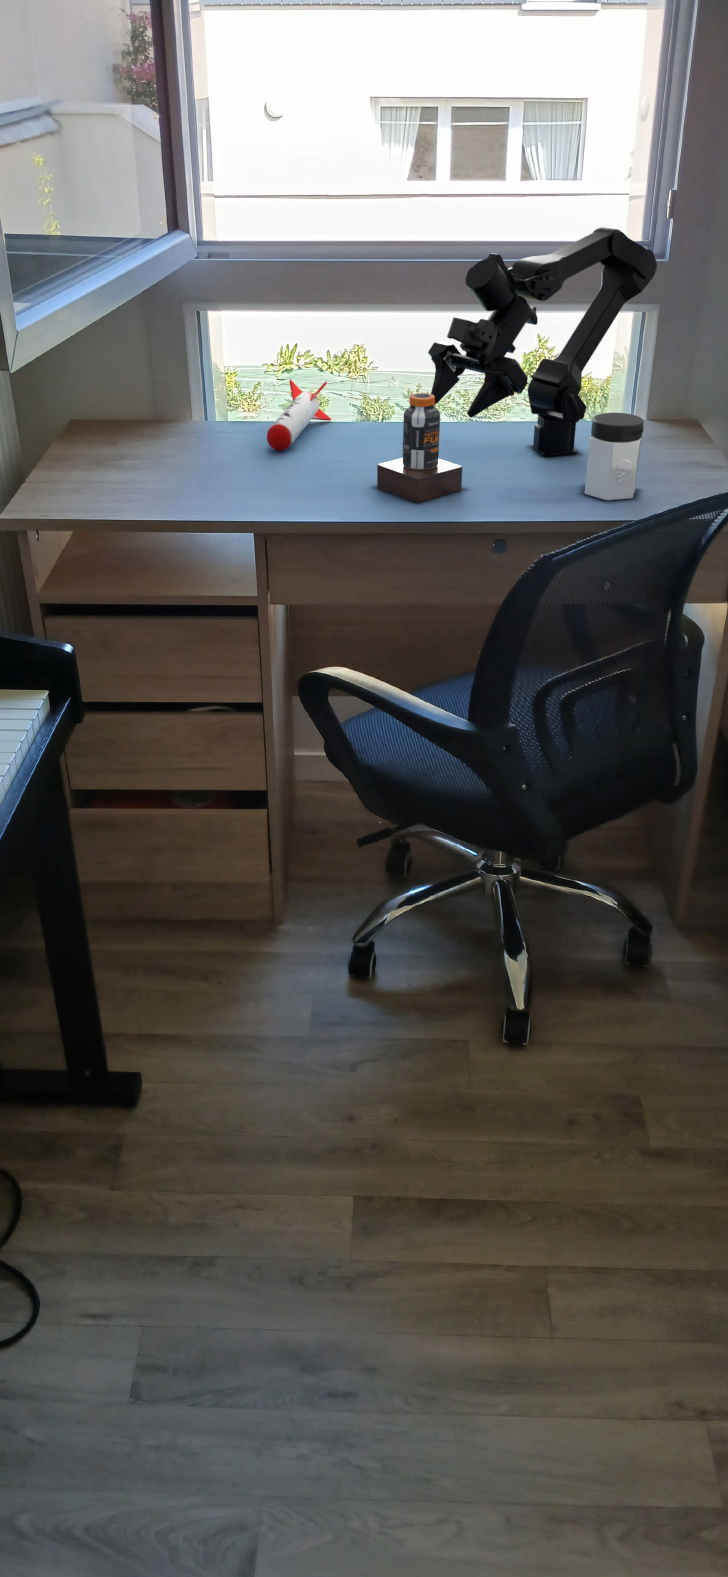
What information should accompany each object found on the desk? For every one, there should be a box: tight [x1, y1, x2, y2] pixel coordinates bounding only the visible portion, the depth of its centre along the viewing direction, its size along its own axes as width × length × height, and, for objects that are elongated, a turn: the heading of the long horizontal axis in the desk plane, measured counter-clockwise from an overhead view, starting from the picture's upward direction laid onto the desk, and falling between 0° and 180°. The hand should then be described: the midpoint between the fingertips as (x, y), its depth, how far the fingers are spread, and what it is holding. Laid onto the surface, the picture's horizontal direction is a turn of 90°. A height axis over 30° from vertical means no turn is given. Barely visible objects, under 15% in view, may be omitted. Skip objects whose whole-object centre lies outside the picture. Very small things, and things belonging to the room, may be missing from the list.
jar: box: [584, 412, 645, 501], centre depth 187 cm, size 9×8×12 cm
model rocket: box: [266, 379, 332, 452], centre depth 217 cm, size 11×23×10 cm
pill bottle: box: [402, 392, 441, 470], centre depth 187 cm, size 6×6×11 cm
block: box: [376, 457, 463, 504], centre depth 192 cm, size 10×10×4 cm
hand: (449, 409), depth 189 cm, fingers open, 9 cm apart
